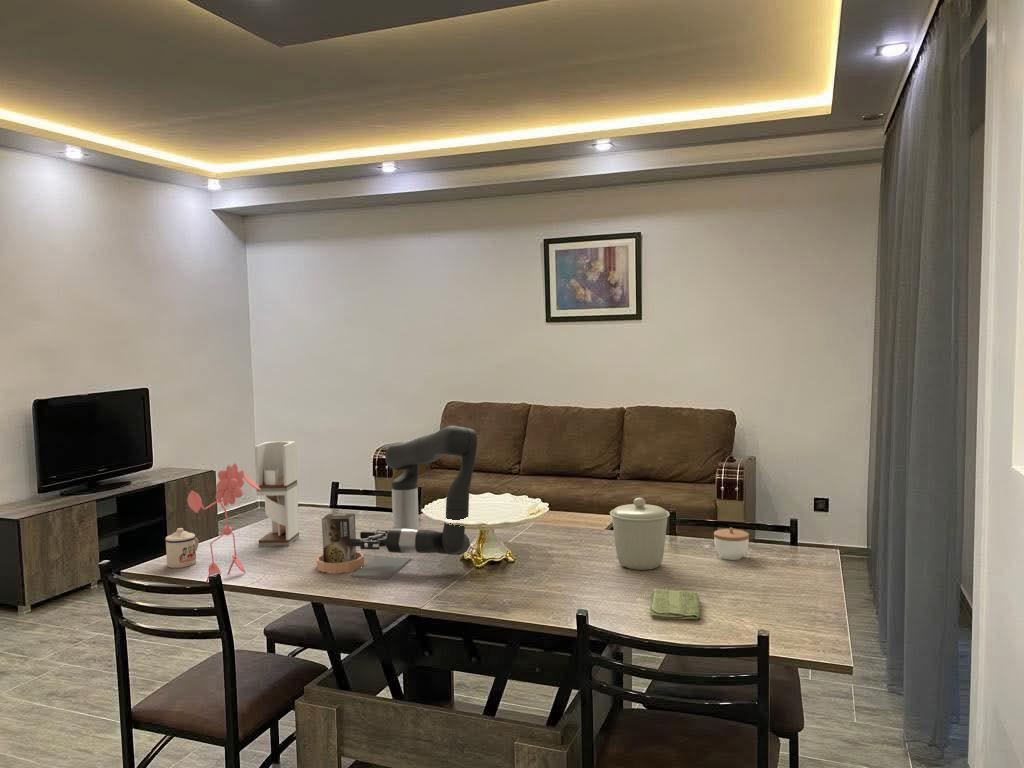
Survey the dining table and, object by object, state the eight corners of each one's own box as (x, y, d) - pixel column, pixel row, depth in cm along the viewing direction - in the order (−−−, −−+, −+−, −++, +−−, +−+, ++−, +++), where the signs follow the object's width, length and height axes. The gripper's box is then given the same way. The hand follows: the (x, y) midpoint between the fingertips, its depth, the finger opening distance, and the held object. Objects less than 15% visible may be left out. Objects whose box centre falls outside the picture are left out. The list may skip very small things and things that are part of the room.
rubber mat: (376, 558, 252) (376, 556, 252) (411, 559, 249) (411, 557, 249) (351, 577, 232) (351, 575, 232) (389, 578, 230) (389, 576, 230)
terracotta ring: (329, 558, 252) (328, 549, 252) (370, 560, 249) (370, 551, 249) (308, 572, 238) (308, 562, 238) (352, 574, 235) (352, 564, 235)
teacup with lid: (182, 569, 243) (180, 533, 243) (159, 567, 246) (158, 531, 246) (209, 559, 255) (207, 524, 254) (187, 556, 258) (185, 522, 257)
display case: (270, 537, 281) (266, 441, 279) (299, 537, 281) (295, 441, 278) (258, 546, 270) (254, 446, 268) (288, 545, 269) (285, 445, 267)
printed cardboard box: (357, 563, 246) (355, 513, 245) (351, 569, 240) (349, 518, 239) (329, 563, 247) (328, 513, 246) (322, 569, 241) (321, 518, 240)
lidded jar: (713, 560, 242) (713, 531, 241) (714, 551, 252) (714, 523, 251) (748, 563, 239) (749, 533, 238) (749, 553, 249) (749, 525, 248)
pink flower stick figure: (182, 590, 222) (179, 470, 220) (244, 566, 246) (242, 456, 244) (224, 597, 216) (222, 473, 214) (284, 571, 240) (282, 459, 238)
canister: (678, 562, 241) (678, 495, 240) (655, 578, 226) (655, 506, 225) (625, 554, 251) (625, 489, 250) (600, 568, 236) (599, 500, 235)
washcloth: (649, 621, 193) (648, 608, 193) (650, 597, 210) (650, 586, 210) (703, 624, 190) (703, 611, 190) (700, 600, 208) (700, 588, 207)
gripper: (411, 522, 246) (363, 521, 249) (396, 534, 232) (345, 532, 235) (412, 546, 246) (364, 544, 249) (396, 559, 232) (346, 556, 235)
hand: (355, 538), depth 242 cm, fingers open, 8 cm apart
